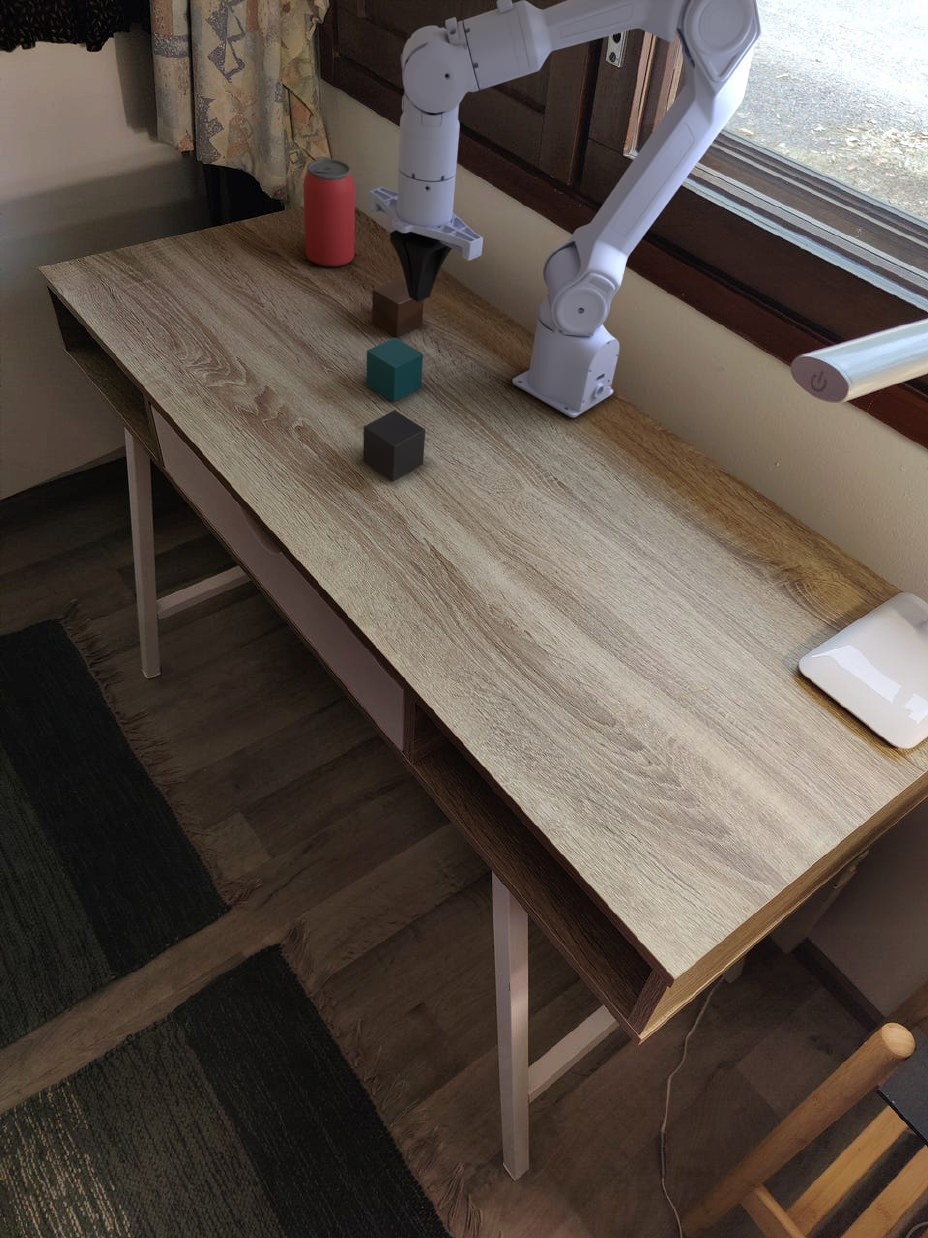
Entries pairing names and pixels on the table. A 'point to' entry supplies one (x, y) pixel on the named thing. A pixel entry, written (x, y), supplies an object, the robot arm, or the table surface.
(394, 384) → the teal block
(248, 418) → the table surface
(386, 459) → the charcoal block
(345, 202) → the beer can
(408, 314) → the walnut block
